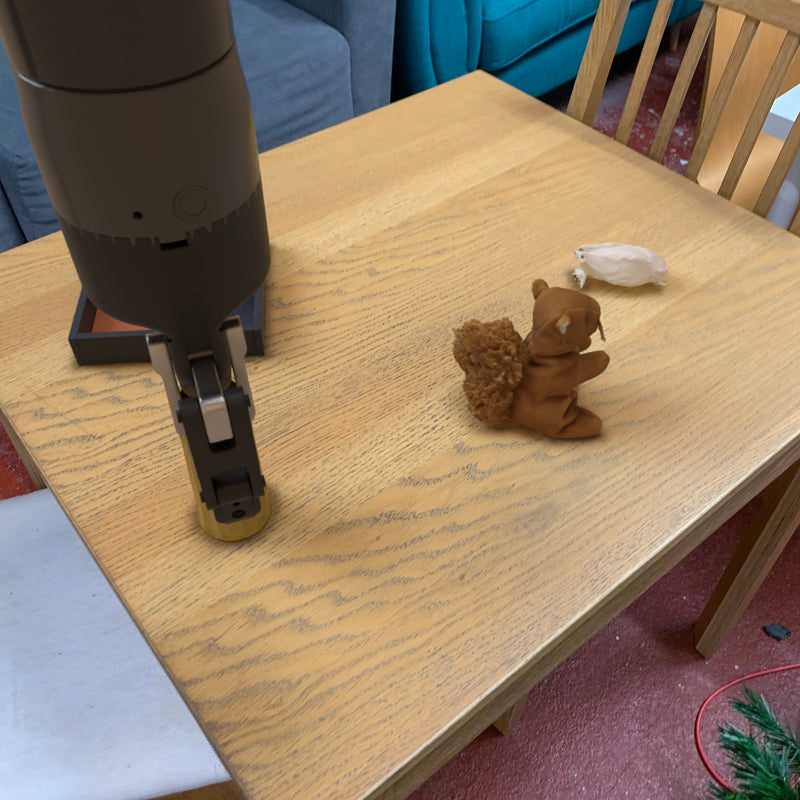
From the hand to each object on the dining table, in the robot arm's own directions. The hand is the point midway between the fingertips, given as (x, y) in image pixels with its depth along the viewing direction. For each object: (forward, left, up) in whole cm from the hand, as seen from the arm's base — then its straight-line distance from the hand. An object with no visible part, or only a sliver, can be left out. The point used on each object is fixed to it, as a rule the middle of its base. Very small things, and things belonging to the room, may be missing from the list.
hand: (222, 448), depth 40 cm
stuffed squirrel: (+24, +22, -24) cm, 40 cm away
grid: (-10, +40, -23) cm, 48 cm away
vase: (-3, +12, -24) cm, 27 cm away
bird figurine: (+39, +40, -24) cm, 61 cm away
